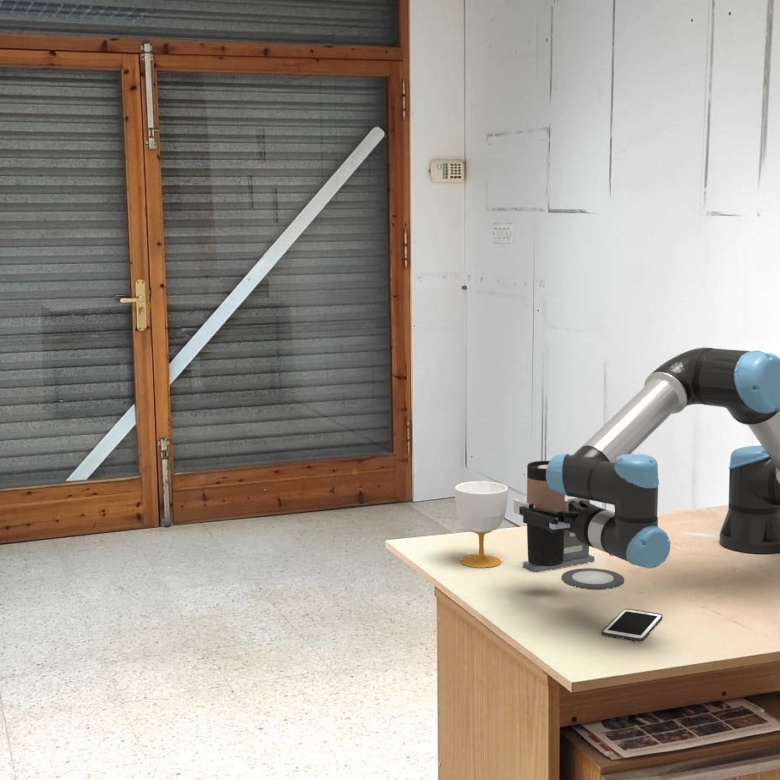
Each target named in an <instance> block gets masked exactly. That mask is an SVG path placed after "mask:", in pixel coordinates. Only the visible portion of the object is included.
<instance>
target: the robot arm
mask: <svg viewBox="0 0 780 780" xmlns="http://www.w3.org/2000/svg"><path fill="white" fill-rule="evenodd" d="M643 386H644V387H643V388H641V390H640V391H639V392H638V393H637V394H635V395H634V396H633V397H632V398H631V399H630V400H629V401H628V402H627V403H626V404H625V405H624V406H622V408H620V409H619V411H618V412H616V413H615V414H614V415H613V416H612V417H611V418H610V419H609V420H607V422H605V424H604V425H602V427H601V428H600V429H598V431H596V432H595V433H594V434H593V435H592V436H591V437H590V438H588V440H587V441H586V442H585V443H584V444H582V445H581V447H580V448H578V449H577V450H576V451H575V452H574V453H573V454H569V453H564V454H563V453H560V454H558V453H557V454H556V455H554V456H553V457H552V458H551V459H550V460H549V461H550V462H549V464H548V466H547V470H546V480H547V483H548V486H549V488H550V489H551V490H552V491H554V492H556V493H560V494H563V495H565V497H570V498H571V497H572V498H582V499H587V500H590V501H591V502H598V503H603V504H608V505H613V506H614V511H612V510H608V509H605V508H602V507H600V506H597V505H595V504H592V503H591V502H590V503H588V502H586V501H584V500H580V501H579V503H577V502H576V501H569V500H567V499H566V498H565V511H560V512H554V511H549V510H543V509H538V508H535V506H534V505H533V504H529V503H527V501H523V500H521V499H517V498H514V499H513V513H514V514H517V515H519V516H522V523H524V524H526V525H527V524H529V525H533V526H536V527H539V528H542V529H545V530H548V531H550V532H551V533H554V534H555V533H558V529H562V530H566V531H569V532H571V533H574V534H575V535H576V537H577V539H578V540H579V541H580V542H581V543H583V544H586V545H588V546H589V548H593V549H597V550H598V551H601V552H604V553H606V554H608V556H610V557H613V556H614V557H616V558H618V559H620V560H624V561H626V562H628V563H629V564H631V565H633V566H637V567H640V568H644V569H654V568H655V569H656V568H658V567H660V566H661V565H662V564H663V563H664V562H665V561H667V558H668V557H669V555H670V552H671V540H670V538H669V535H668V533H667V532H666V531H665V530H663V529H661V527H659V518H658V507H659V506H658V505H659V504H658V502H659V485H660V484H659V483H660V481H659V467H658V461H657V460H656V458H654V457H653V456H651V455H647V454H643V453H641V454H640V453H639V454H637V453H633V452H634V451H636V450H637V448H639V447H640V445H642V444H643V443H644V441H646V440H647V439H648V438H649V437H650V436H651V434H653V433H654V431H656V430H657V429H658V428H659V427H660V426H661V425H662V424H663V423H664V422H665V421H666V420H667V419H668V418H669V417H670V416H671V415H672V414H673V415H674V414H678V413H680V412H682V411H683V410H684V409H685V408H686V407H688V406H692V405H704V406H709V407H710V406H711V407H719V408H724V409H726V410H727V411H728V412H729V414H730V415H731V417H732V418H733V419H734V420H735V421H736V422H738V423H739V424H742V425H746V426H748V428H749V429H750V431H751V432H752V434H753V435H754V437H756V439H757V440H758V442H759V444H760V445H749V446H743V447H738V448H736V449H734V450H733V451H732V452H731V454H730V461H729V466H728V470H729V471H728V473H729V476H728V479H729V481H728V510H727V514H726V516H725V517H724V518H725V519H724V521H723V522H722V523H723V524H722V526H721V529H720V530H719V531H720V532H719V542H718V543H719V544H720V545H721V546H722V547H725V548H727V549H729V550H733V551H737V552H741V553H743V552H744V553H747V554H748V553H750V554H775V553H780V357H779V356H777V355H776V354H774V353H769V352H764V351H760V350H743V349H741V350H738V349H726V348H715V347H713V348H712V347H698V348H694V349H690V350H687V351H685V352H681V353H679V354H677V355H676V356H673V357H672V358H670V359H669V360H667V361H665V362H663V363H662V364H661V365H659V366H658V367H657V368H656V369H655V370H653V371H652V372H651V373H650V374H649V375H648V376H647V377H646V379H645V381H644V385H643ZM569 511H570V512H569ZM564 515H565V516H564Z"/></svg>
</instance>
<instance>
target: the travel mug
mask: <svg viewBox="0 0 780 780" xmlns="http://www.w3.org/2000/svg"><path fill="white" fill-rule="evenodd" d="M549 462H550V460H536V461H532V462H528V463H527V466H526V468H527V469H526V470H527V472H526V473H527V475H526V503H529V504H533V505H534V506H535V508H538V509H543V510H549V511H554V512H560V511H565V499H566V495H563V494H560V493H556V492H554V491H552V490H551V489H550V488H549V486H548V483H547V480H546V470H547V466H548V464H549ZM564 516H565V515H564ZM564 534H565V530H562V529H558V533H555V534H554V533H551V532H550V531H548V530H545V529H542V528H539V527H536V526H533V525H529V524H526V537H527V538H526V539H527V540H526V543H527V559H528V560H527V561H529V563H531V564H533V565H537V566H557V565H560V564H562V563H563V559H564Z"/></svg>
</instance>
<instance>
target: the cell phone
mask: <svg viewBox="0 0 780 780" xmlns="http://www.w3.org/2000/svg"><path fill="white" fill-rule="evenodd" d="M663 616H664V615H663V614H662V613H658V612H652V611H646V610H639V609H633V608H624V609H622V610H621V611H620V612H619V613H618V614H617V615H616V616H615V617H614V618H613V619H612V620H611V621H610V622H609V623H608V624H607V625H606V626H605V627H604V628H603V630H602V631H601V635H602V636H603V637H608V638H614V639H622V638H623V639H622V640H624V639H626V640H625V641H630V640H633V641H632V642H636V641H638V643H641V641H642V642H644V641H645V640H646V639H647V638H648V637H649V635H650V634H651V633H652V632H653V631H654V630H655V628H656V627H658V625H659V624H660V622H662V620H663V619H662V618H664V617H663ZM658 623H659V624H658ZM652 630H653V631H652ZM651 631H652V632H651ZM650 632H651V633H650ZM645 638H646V639H645ZM643 640H644V641H643Z"/></svg>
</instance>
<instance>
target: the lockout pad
mask: <svg viewBox="0 0 780 780" xmlns="http://www.w3.org/2000/svg"><path fill="white" fill-rule="evenodd" d="M562 580H563V581H564V582H563V581H562ZM561 581H562V582H563V583H565V584H566V583H567V585H568V584H569V586H572V587H574V586H576V587H575V588H578V587H580V588H579V589H584V588H586V589H587V590H607V589H606V588H610V589H614V588H613V587H615V588H617V586H618V587H620V585H621V586H622V585H623V584H624V583H625V577H624V576H623V574H620V573H619V572H616V571H612V570H610V569H609V570H608V569H604V568H603V569H602V568H593V567H591V568H590V567H585V568H575V569H570V570H567V571H565V572H564V573H562V575H561Z"/></svg>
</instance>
